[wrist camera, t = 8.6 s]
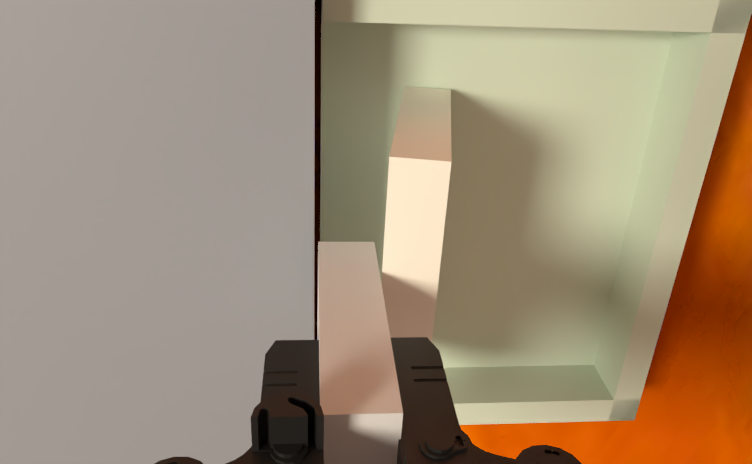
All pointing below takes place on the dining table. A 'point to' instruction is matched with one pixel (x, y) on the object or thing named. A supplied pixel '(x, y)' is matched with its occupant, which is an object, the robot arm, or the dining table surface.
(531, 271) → the tray
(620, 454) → the dining table surface
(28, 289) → the grey drawer casing
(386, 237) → the card
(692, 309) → the dining table surface
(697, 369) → the dining table surface
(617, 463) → the dining table surface
